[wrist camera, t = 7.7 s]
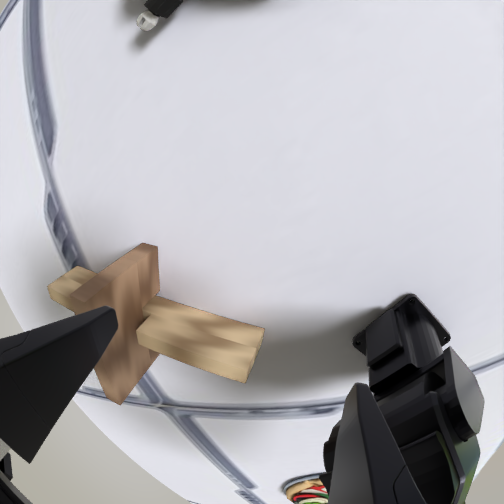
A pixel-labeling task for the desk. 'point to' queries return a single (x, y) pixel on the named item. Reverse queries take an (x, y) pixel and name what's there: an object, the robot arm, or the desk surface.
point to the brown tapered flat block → (123, 317)
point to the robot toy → (156, 12)
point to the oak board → (183, 331)
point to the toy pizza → (307, 491)
